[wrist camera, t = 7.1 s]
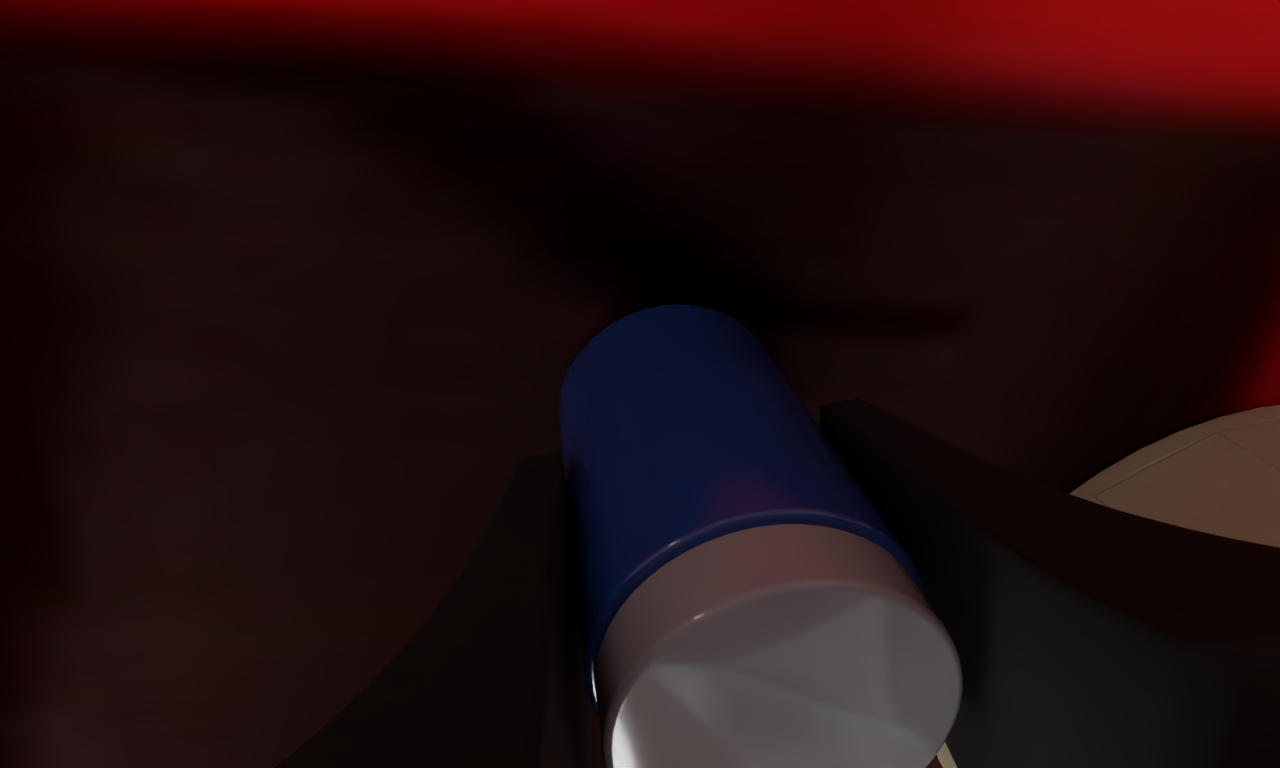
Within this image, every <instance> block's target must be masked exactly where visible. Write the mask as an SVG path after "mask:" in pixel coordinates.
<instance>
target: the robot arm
mask: <svg viewBox="0 0 1280 768" xmlns="http://www.w3.org/2000/svg"><path fill="white" fill-rule="evenodd" d="M820 428H821V429H822V431H823V432H824V434H825V435H826V436H827V438H828V439H829V441H830V442H831V444H832V445H833V447H834V448H835V449H836V451H837V452H838V454H839V455H840V457H841V458H842V460H843V461H844V462H845V464H846V465H847V467H848V468H849V470H850V471H851V473H852V474H853V475H854V477H855V478H856V480H857V481H858V483H859V484H860V486H861V487H862V489H863V490H864V491H865V493H866V494H867V496H868V497H869V499H870V500H871V502H872V503H873V504H874V506H875V507H876V509H877V510H878V512H879V513H880V515H881V516H882V517H883V519H884V520H885V522H886V523H887V525H888V526H889V528H890V529H891V530H892V532H893V533H894V535H895V536H896V538H897V539H898V541H899V542H900V543H901V545H902V546H903V548H904V549H905V551H906V552H907V554H908V555H909V557H910V558H911V560H912V561H913V563H914V564H915V566H916V568H917V569H918V571H919V574H920V576H921V579H922V581H923V584H924V587H925V592H926V597H927V600H928V601H929V603H930V604H931V606H932V607H933V609H934V610H935V612H936V613H937V615H938V616H939V618H940V619H941V621H942V622H943V624H944V625H945V627H946V628H947V630H948V631H949V633H950V635H951V636H952V638H953V640H954V642H955V645H956V648H957V650H958V653H959V657H960V663H961V668H962V676H963V677H962V697H961V703H960V708H959V711H958V714H957V717H956V720H955V723H954V725H953V727H952V729H951V731H950V733H949V735H948V737H947V739H946V741H945V743H946V745H947V747H948V749H949V752H950V754H951V756H952V758H953V760H954V762H955V764H956V766H957V768H1280V548H1279V547H1274V546H1269V545H1263V544H1258V543H1253V542H1248V541H1243V540H1237V539H1232V538H1227V537H1223V536H1218V535H1214V534H1209V533H1205V532H1200V531H1196V530H1191V529H1187V528H1183V527H1179V526H1175V525H1172V524H1168V523H1164V522H1160V521H1156V520H1153V519H1149V518H1145V517H1141V516H1138V515H1134V514H1130V513H1127V512H1123V511H1120V510H1117V509H1113V508H1110V507H1107V506H1103V505H1100V504H1097V503H1094V502H1092V501H1089V500H1086V499H1083V498H1080V497H1077V496H1074V495H1071V494H1068V493H1065V492H1062V491H1059V490H1056V489H1054V488H1051V487H1048V486H1046V485H1043V484H1040V483H1038V482H1035V481H1033V480H1030V479H1028V478H1025V477H1023V476H1021V475H1018V474H1016V473H1013V472H1011V471H1009V470H1006V469H1004V468H1002V467H999V466H997V465H995V464H992V463H990V462H988V461H986V460H983V459H981V458H979V457H977V456H975V455H972V454H970V453H968V452H966V451H964V450H962V449H960V448H958V447H956V446H954V445H951V444H949V443H947V442H945V441H943V440H941V439H939V438H937V437H935V436H933V435H931V434H929V433H927V432H925V431H923V430H921V429H919V428H918V427H916V426H914V425H912V424H910V423H908V422H906V421H904V420H902V419H900V418H898V417H896V416H894V415H892V414H890V413H888V412H886V411H884V410H882V409H880V408H878V407H876V406H874V405H872V404H869V403H867V402H865V401H862V400H860V399H855V400H849V401H843V402H838V403H832V404H826V405H821V406H820ZM274 768H593V760H592V732H591V701H590V698H589V695H588V691H587V688H586V683H585V674H584V665H583V655H582V645H581V635H580V626H579V616H578V606H577V596H576V586H575V576H574V566H573V556H572V546H571V525H570V514H569V505H568V495H567V485H566V479H565V474H564V469H563V464H562V459H561V454H560V452H556V453H550V454H545V455H539V456H533V457H528V458H522V459H519V461H518V462H517V463H516V465H515V466H514V468H513V470H512V473H511V476H510V478H509V481H508V483H507V485H506V488H505V490H504V492H503V494H502V497H501V499H500V501H499V503H498V505H497V507H496V509H495V511H494V513H493V515H492V517H491V519H490V521H489V523H488V524H487V526H486V528H485V530H484V532H483V534H482V536H481V537H480V539H479V541H478V543H477V545H476V547H475V548H474V550H473V552H472V553H471V555H470V556H469V558H468V560H467V561H466V563H465V564H464V566H463V568H462V569H461V571H460V572H459V574H458V575H457V577H456V579H455V580H454V582H453V583H452V585H451V586H450V588H449V589H448V591H447V592H446V594H445V595H444V597H443V598H442V599H441V601H440V602H439V604H438V605H437V606H436V608H435V609H434V610H433V612H432V613H431V614H430V616H429V617H428V618H427V620H426V621H425V622H424V623H423V625H422V626H421V627H420V628H419V630H418V631H417V632H416V634H415V635H414V636H413V637H412V638H411V640H410V641H409V642H408V643H407V644H406V645H405V646H404V648H403V649H402V650H401V651H400V652H399V653H398V654H397V655H396V656H395V657H394V658H393V660H392V661H391V662H390V663H389V664H388V665H387V666H386V667H385V668H384V669H383V670H382V671H381V672H380V674H379V675H378V676H377V677H376V678H375V679H374V680H373V681H372V682H371V683H370V684H369V685H368V686H367V687H366V688H365V689H364V690H363V691H362V692H361V693H360V694H359V695H358V696H357V697H356V698H355V699H354V700H353V701H352V702H351V703H349V704H348V705H347V706H346V707H345V708H344V709H343V710H342V711H341V712H340V713H339V714H338V715H337V716H335V717H334V718H333V719H332V720H331V721H330V722H329V723H328V724H326V725H325V726H324V727H323V728H322V729H321V730H320V731H318V732H317V733H316V734H315V735H314V736H313V737H312V738H310V739H309V740H308V741H307V742H306V743H305V744H303V745H302V746H301V747H300V748H299V749H297V750H296V751H295V752H294V753H293V754H291V755H290V756H289V757H287V758H286V759H285V760H283V761H282V762H281V763H280V764H278V765H277V766H276V767H274Z"/></svg>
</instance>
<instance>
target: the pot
mask: <svg viewBox="0 0 1280 768" xmlns="http://www.w3.org/2000/svg"><path fill="white" fill-rule="evenodd" d="M1069 494H1071V495H1074V496H1077V497H1080V498H1083V499H1086V500H1089V501H1092V502H1094V503H1097V504H1100V505H1103V506H1107V507H1110V508H1113V509H1117V510H1120V511H1123V512H1127V513H1130V514H1134V515H1138V516H1141V517H1145V518H1149V519H1153V520H1156V521H1160V522H1164V523H1168V524H1172V525H1175V526H1179V527H1183V528H1187V529H1191V530H1196V531H1200V532H1205V533H1209V534H1214V535H1218V536H1223V537H1227V538H1232V539H1237V540H1243V541H1248V542H1253V543H1258V544H1263V545H1269V546H1274V547H1279V548H1280V405H1274V406H1266V407H1259V408H1255V409H1251V410H1246V411H1242V412H1238V413H1234V414H1230V415H1226V416H1222V417H1218V418H1215V419H1212V420H1210V421H1207V422H1204V423H1201V424H1198V425H1195V426H1193V427H1190V428H1187V429H1184V430H1181V431H1178V432H1176V433H1174V434H1172V435H1170V436H1168V437H1165V438H1163V439H1161V440H1159V441H1157V442H1155V443H1152V444H1150V445H1148V446H1146V447H1144V448H1142V449H1139V450H1137V451H1136V452H1134V453H1132V454H1130V455H1129V456H1127V457H1125V458H1124V459H1122V460H1120V461H1118V462H1117V463H1115V464H1113V465H1111V466H1110V467H1108V468H1106V469H1105V470H1103V471H1101V472H1099V473H1098V474H1096V475H1095V476H1094V477H1092V478H1091V479H1089V480H1088V481H1086V482H1085V483H1084V484H1082V485H1081V486H1079V487H1078V488H1077V489H1075V490H1074V491H1072V492H1071V493H1069ZM937 756H938V759H939V761H940V763H941V765H942V767H943V768H957V766H956V764H955V762H954V760H953V758H952V756H951V754H950V752H949V749H948V747H947V745H946V743H944V744H943V745H942V747H941V748H940V750H939V751H938V753H937Z"/></svg>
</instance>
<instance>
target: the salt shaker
mask: <svg viewBox="0 0 1280 768" xmlns="http://www.w3.org/2000/svg"><path fill="white" fill-rule="evenodd" d="M558 417H559V427H560V437H561V447H562V457H563V467H564V474H565V479H566V485H567V495H568V505H569V514H570V525H571V546H572V556H573V566H574V576H575V586H576V596H577V606H578V616H579V626H580V635H581V645H582V655H583V665H584V674H585V683H586V688H587V691H588V695H589V698H590V701H591V704H592V705H593V707H594V709H595V711H596V713H597V715H598V717H599V726H600V735H601V744H602V752H603V760H604V764H605V767H606V768H925V767H926V766H927V765H928V764H929V763H930V762H931V761H932V759H933V758H934V757H935V756H936V754H937V753H938V751H939V750H940V748H941V747H942V745H943V744H944V743H945V741H946V739H947V737H948V735H949V733H950V731H951V729H952V727H953V725H954V723H955V720H956V717H957V714H958V711H959V708H960V703H961V697H962V677H963V676H962V668H961V663H960V657H959V653H958V650H957V648H956V645H955V642H954V640H953V638H952V636H951V635H950V633H949V631H948V630H947V628H946V627H945V625H944V624H943V622H942V621H941V619H940V618H939V616H938V615H937V613H936V612H935V610H934V609H933V607H932V606H931V604H930V603H929V601H928V600H927V597H926V592H925V587H924V584H923V581H922V579H921V576H920V574H919V571H918V569H917V568H916V566H915V564H914V563H913V561H912V560H911V558H910V557H909V555H908V554H907V552H906V551H905V549H904V548H903V546H902V545H901V543H900V542H899V541H898V539H897V538H896V536H895V535H894V533H893V532H892V530H891V529H890V528H889V526H888V525H887V523H886V522H885V520H884V519H883V517H882V516H881V515H880V513H879V512H878V510H877V509H876V507H875V506H874V504H873V503H872V502H871V500H870V499H869V497H868V496H867V494H866V493H865V491H864V490H863V489H862V487H861V486H860V484H859V483H858V481H857V480H856V478H855V477H854V475H853V474H852V473H851V471H850V470H849V468H848V467H847V465H846V464H845V462H844V461H843V460H842V458H841V457H840V455H839V454H838V452H837V451H836V449H835V448H834V447H833V445H832V444H831V442H830V441H829V439H828V438H827V436H826V435H825V434H824V432H823V431H822V429H821V428H820V426H819V425H818V423H817V422H816V421H815V419H814V418H813V416H812V415H811V413H810V412H809V410H808V409H807V408H806V406H805V405H804V403H803V402H802V400H801V399H800V397H799V396H798V394H797V393H796V392H795V390H794V389H793V387H792V386H791V384H790V383H789V381H788V380H787V379H786V377H785V376H784V374H783V373H782V371H781V370H780V368H779V367H778V366H777V364H776V363H775V361H774V360H773V358H772V357H771V355H770V354H769V353H768V351H767V350H766V348H765V347H764V345H763V344H762V343H761V341H760V340H759V339H758V338H757V337H756V336H755V335H754V333H753V332H751V331H750V330H749V329H748V328H747V327H745V326H744V325H743V324H742V323H740V322H738V321H737V320H735V319H734V318H732V317H730V316H728V315H726V314H723V313H721V312H719V311H716V310H712V309H709V308H705V307H700V306H694V305H675V304H673V305H664V306H656V307H652V308H648V309H643V310H640V311H638V312H635V313H632V314H629V315H627V316H625V317H623V318H621V319H619V320H617V321H615V322H614V323H612V324H611V325H609V326H608V327H606V328H605V329H603V330H602V331H601V332H599V333H598V334H597V335H596V336H595V337H594V338H592V339H591V340H590V341H589V342H588V343H587V345H586V346H585V347H584V348H583V349H582V350H581V351H580V353H579V354H578V356H577V357H576V359H575V360H574V361H573V363H572V365H571V367H570V369H569V371H568V373H567V375H566V377H565V380H564V383H563V386H562V389H561V393H560V399H559V411H558Z"/></svg>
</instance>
